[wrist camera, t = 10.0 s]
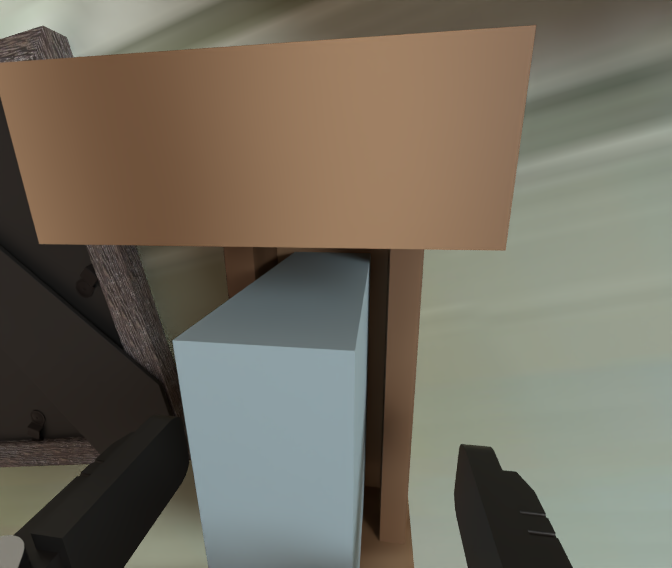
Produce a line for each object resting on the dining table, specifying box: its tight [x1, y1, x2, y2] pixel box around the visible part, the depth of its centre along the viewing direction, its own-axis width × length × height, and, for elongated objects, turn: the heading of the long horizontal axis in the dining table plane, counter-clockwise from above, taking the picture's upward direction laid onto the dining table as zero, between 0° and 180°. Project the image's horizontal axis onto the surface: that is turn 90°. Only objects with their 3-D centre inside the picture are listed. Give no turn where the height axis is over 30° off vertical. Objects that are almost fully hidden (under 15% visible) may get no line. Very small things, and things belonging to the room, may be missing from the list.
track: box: [0, 25, 536, 568], centre depth 11 cm, size 7×18×10 cm, turn 1°
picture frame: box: [0, 26, 191, 467], centre depth 17 cm, size 16×2×21 cm
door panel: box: [172, 252, 371, 568], centre depth 10 cm, size 4×10×8 cm, turn 0°
